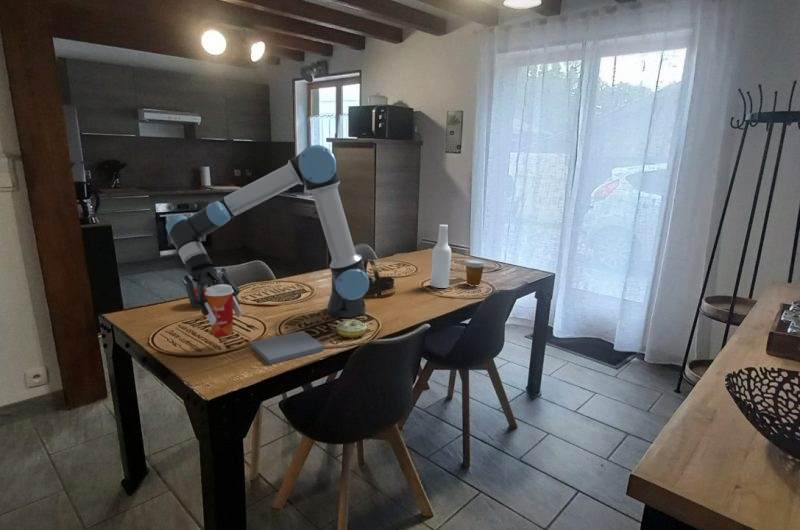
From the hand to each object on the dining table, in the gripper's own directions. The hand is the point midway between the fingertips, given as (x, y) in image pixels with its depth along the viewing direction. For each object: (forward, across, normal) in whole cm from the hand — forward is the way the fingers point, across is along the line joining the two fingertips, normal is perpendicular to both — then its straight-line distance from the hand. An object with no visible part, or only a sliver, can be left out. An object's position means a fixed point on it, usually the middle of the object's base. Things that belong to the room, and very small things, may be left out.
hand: (227, 318), depth 139 cm
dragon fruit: (-24, -15, -38) cm, 48 cm away
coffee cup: (+2, 0, -6) cm, 7 cm away
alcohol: (+14, -106, -2) cm, 107 cm away
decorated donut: (+21, -36, +5) cm, 42 cm away
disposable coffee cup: (+22, -121, +5) cm, 123 cm away
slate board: (+16, -13, +1) cm, 20 cm away
